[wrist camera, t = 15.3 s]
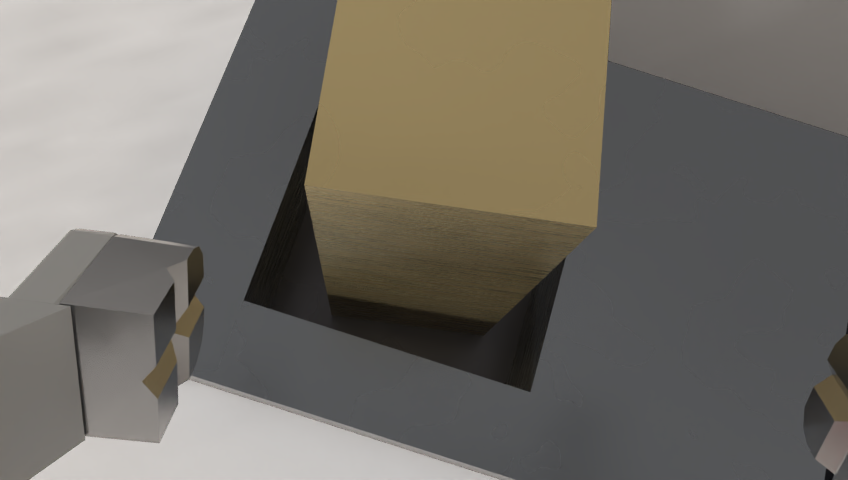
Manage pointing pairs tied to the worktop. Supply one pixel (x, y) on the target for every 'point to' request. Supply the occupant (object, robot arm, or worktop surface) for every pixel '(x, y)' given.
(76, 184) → the worktop surface
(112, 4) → the worktop surface
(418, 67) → the tan rectangular block
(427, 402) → the block
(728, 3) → the worktop surface
